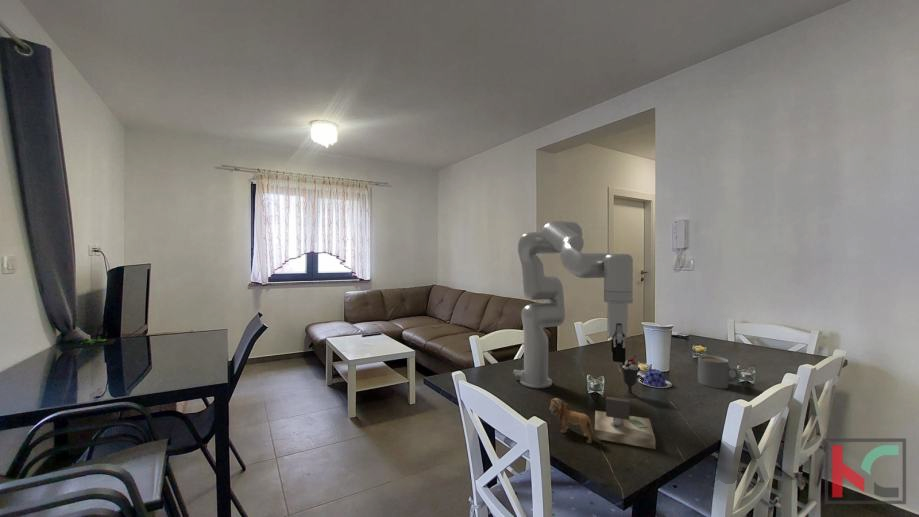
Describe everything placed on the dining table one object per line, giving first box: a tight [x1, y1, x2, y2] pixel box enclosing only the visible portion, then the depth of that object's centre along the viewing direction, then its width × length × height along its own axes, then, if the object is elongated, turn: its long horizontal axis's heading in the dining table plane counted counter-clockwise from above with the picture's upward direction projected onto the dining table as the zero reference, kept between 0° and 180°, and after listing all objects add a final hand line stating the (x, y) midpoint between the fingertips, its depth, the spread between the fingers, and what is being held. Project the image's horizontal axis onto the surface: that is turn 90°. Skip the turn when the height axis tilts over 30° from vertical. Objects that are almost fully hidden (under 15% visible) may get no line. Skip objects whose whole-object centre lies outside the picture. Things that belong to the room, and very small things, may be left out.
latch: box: [605, 395, 630, 426], centre depth 106 cm, size 8×6×7 cm
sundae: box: [619, 354, 641, 399], centre depth 131 cm, size 7×7×15 cm
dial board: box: [594, 410, 656, 450], centre depth 104 cm, size 15×13×3 cm
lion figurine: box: [548, 397, 602, 444], centre depth 103 cm, size 15×5×9 cm, turn 50°
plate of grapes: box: [637, 368, 673, 389], centre depth 143 cm, size 12×12×5 cm
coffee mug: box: [697, 354, 741, 389], centre depth 141 cm, size 13×10×10 cm
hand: (618, 357), depth 103 cm, fingers open, 9 cm apart
